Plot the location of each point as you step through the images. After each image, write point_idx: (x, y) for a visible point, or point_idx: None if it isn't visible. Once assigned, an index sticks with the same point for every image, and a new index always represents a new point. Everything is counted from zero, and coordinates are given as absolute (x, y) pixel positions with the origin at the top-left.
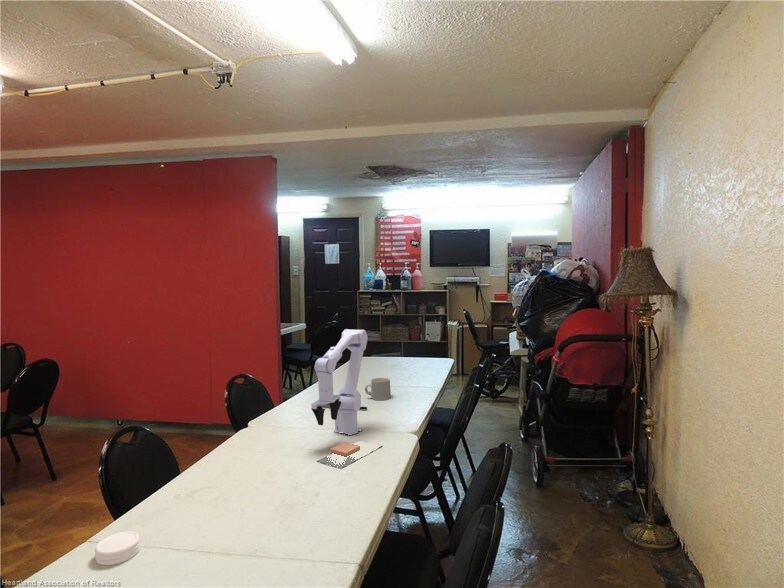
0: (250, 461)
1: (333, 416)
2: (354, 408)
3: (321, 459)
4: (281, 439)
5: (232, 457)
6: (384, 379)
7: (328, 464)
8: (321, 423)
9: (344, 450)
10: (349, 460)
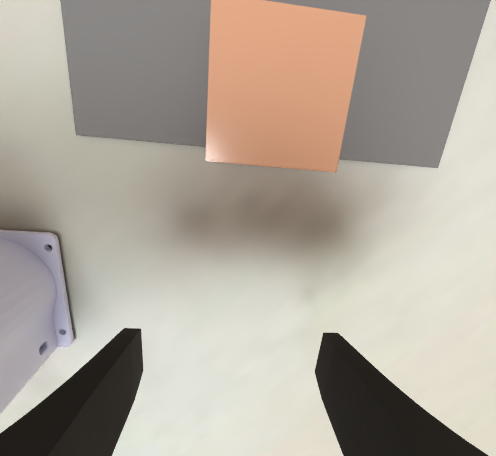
0: (481, 391)
1: (129, 378)
2: None
3: (414, 157)
4: (269, 446)
5: None
6: None
7: (467, 71)
8: (350, 350)
9: (330, 57)
10: None
